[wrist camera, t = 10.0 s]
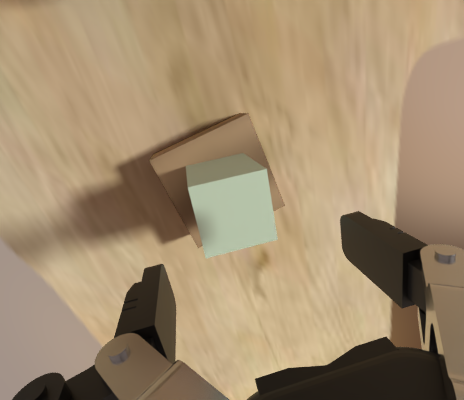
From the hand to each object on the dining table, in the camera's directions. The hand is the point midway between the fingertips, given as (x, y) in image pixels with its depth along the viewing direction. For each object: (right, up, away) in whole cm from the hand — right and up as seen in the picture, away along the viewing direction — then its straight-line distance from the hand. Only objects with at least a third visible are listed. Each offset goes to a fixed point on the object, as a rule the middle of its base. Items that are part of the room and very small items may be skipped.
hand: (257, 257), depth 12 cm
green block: (-2, +4, +12) cm, 13 cm away
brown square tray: (-3, +5, +16) cm, 17 cm away
